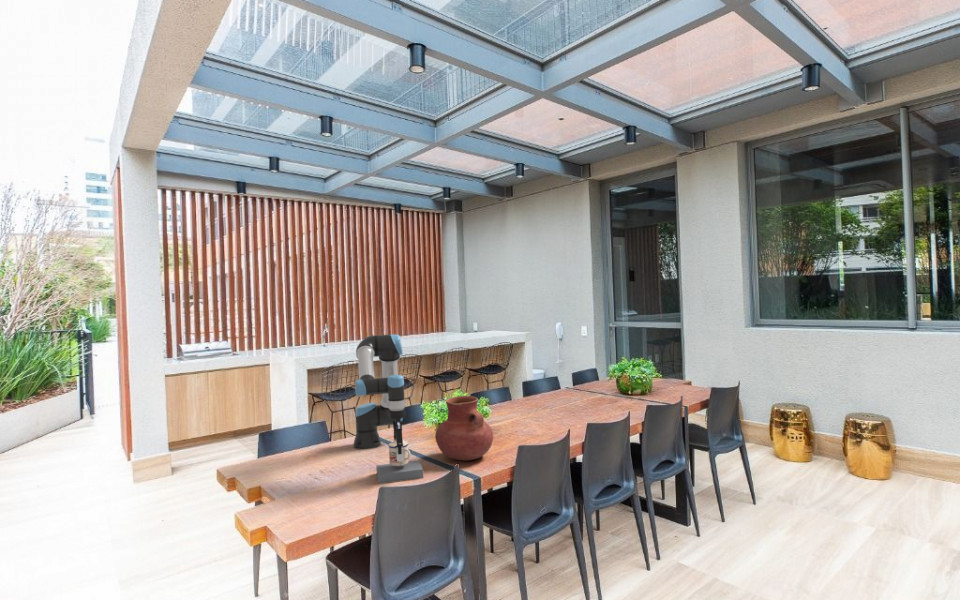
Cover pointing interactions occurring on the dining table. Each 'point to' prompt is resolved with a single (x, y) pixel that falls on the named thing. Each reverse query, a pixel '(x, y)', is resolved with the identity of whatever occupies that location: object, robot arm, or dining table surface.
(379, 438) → the robot arm
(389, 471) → the serving riser
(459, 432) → the clay pot
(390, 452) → the teacup with lid
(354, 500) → the dining table surface
